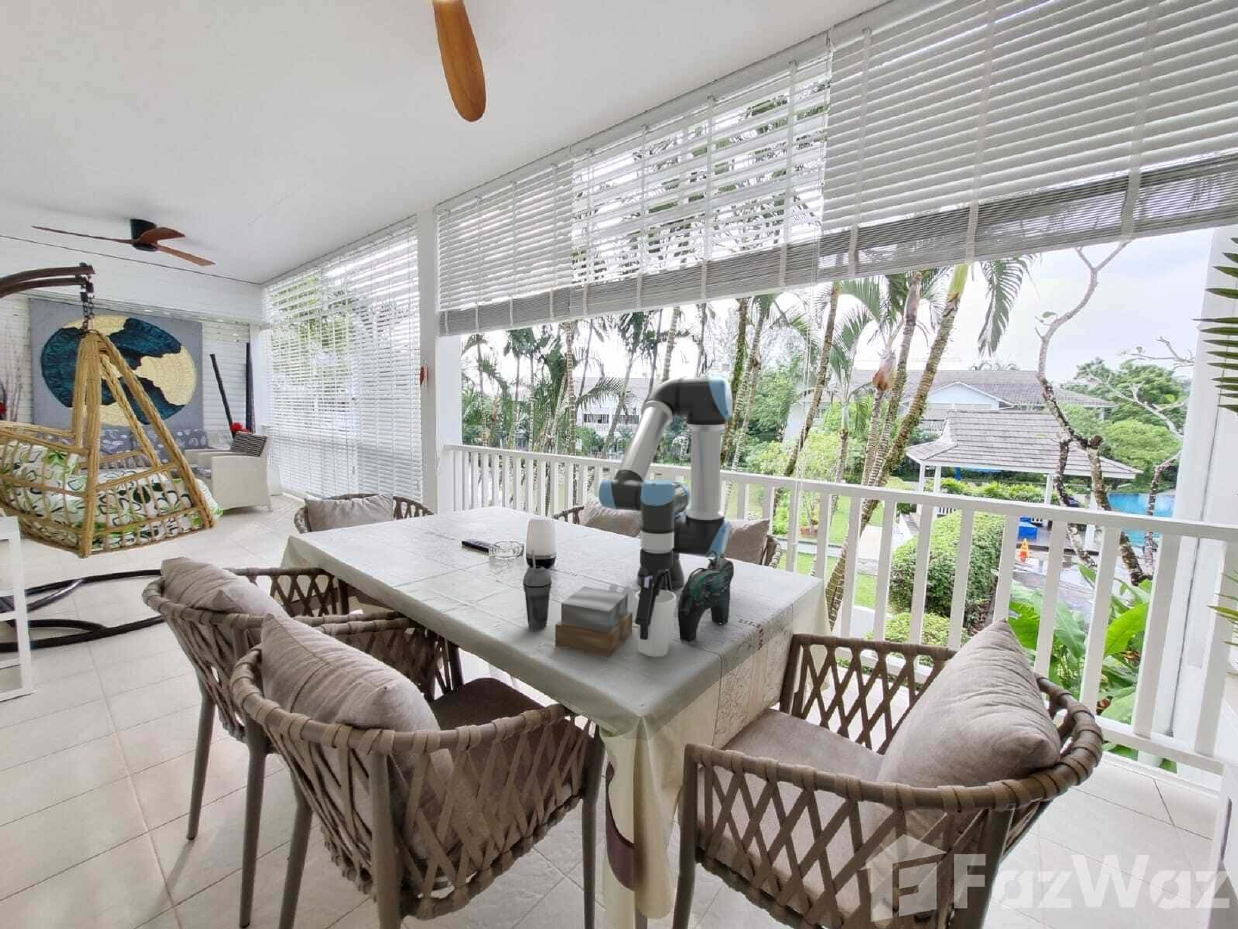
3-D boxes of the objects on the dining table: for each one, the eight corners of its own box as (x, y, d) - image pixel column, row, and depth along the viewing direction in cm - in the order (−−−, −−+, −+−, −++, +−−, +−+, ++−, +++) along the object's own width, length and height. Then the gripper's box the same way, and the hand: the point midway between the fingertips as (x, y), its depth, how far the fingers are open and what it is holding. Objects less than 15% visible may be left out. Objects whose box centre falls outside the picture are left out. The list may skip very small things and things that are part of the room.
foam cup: (626, 653, 113) (627, 598, 111) (644, 637, 121) (645, 585, 119) (665, 664, 108) (667, 606, 107) (680, 646, 116) (682, 593, 115)
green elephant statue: (717, 614, 135) (719, 542, 133) (738, 621, 131) (741, 547, 128) (672, 638, 121) (674, 558, 119) (694, 647, 116) (696, 564, 114)
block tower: (581, 621, 129) (581, 584, 128) (632, 631, 124) (632, 592, 123) (555, 645, 116) (555, 604, 115) (610, 657, 111) (611, 614, 110)
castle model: (659, 607, 141) (660, 582, 140) (646, 629, 126) (647, 601, 126) (609, 600, 145) (609, 576, 144) (591, 621, 131) (591, 594, 130)
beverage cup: (554, 630, 124) (554, 552, 122) (525, 634, 121) (524, 554, 119) (548, 619, 131) (548, 544, 128) (520, 622, 128) (520, 546, 126)
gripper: (657, 534, 125) (655, 615, 127) (620, 561, 102) (619, 660, 104) (686, 537, 122) (684, 620, 124) (655, 566, 99) (653, 667, 101)
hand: (654, 638), depth 114 cm, fingers open, 13 cm apart
